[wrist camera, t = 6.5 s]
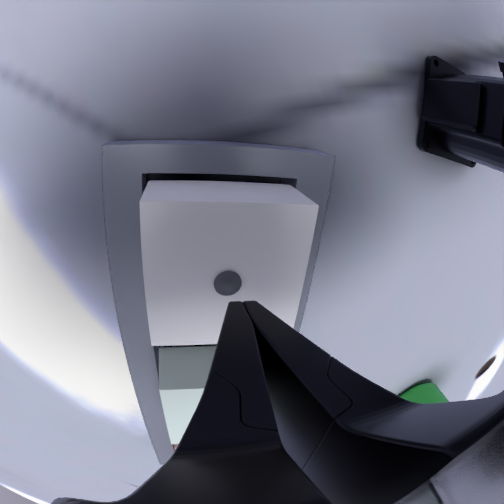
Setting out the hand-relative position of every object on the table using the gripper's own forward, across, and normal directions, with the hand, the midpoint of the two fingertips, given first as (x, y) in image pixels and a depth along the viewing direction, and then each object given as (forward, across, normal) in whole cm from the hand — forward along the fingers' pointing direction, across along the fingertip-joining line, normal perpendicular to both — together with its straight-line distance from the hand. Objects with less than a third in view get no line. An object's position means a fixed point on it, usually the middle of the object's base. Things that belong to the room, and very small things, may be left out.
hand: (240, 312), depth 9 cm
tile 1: (+5, 0, 0) cm, 5 cm away
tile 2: (+5, 0, +9) cm, 10 cm away
